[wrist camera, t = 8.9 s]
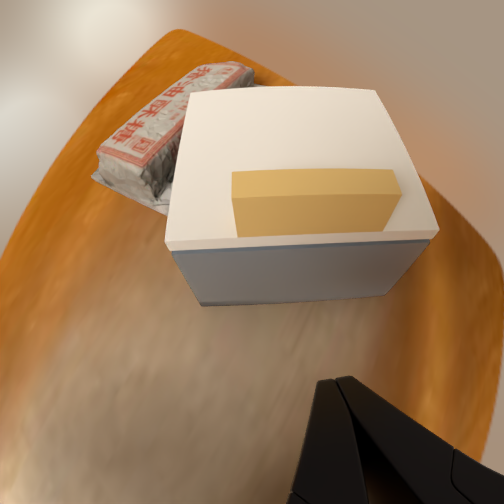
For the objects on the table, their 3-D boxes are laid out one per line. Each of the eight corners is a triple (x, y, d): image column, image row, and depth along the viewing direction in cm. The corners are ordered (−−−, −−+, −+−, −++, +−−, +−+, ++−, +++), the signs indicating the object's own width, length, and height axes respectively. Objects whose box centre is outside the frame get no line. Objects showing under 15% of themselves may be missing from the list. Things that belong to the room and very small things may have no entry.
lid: (432, 238, 13) (464, 196, 10) (169, 250, 13) (145, 205, 10) (372, 99, 18) (381, 59, 15) (192, 102, 18) (183, 60, 15)
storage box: (384, 295, 19) (430, 242, 13) (201, 306, 20) (171, 254, 13) (353, 170, 24) (371, 103, 18) (208, 175, 25) (193, 106, 19)
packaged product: (155, 183, 19) (73, 149, 22) (173, 224, 23) (95, 185, 26) (279, 62, 26) (198, 48, 29) (279, 100, 30) (204, 82, 33)
